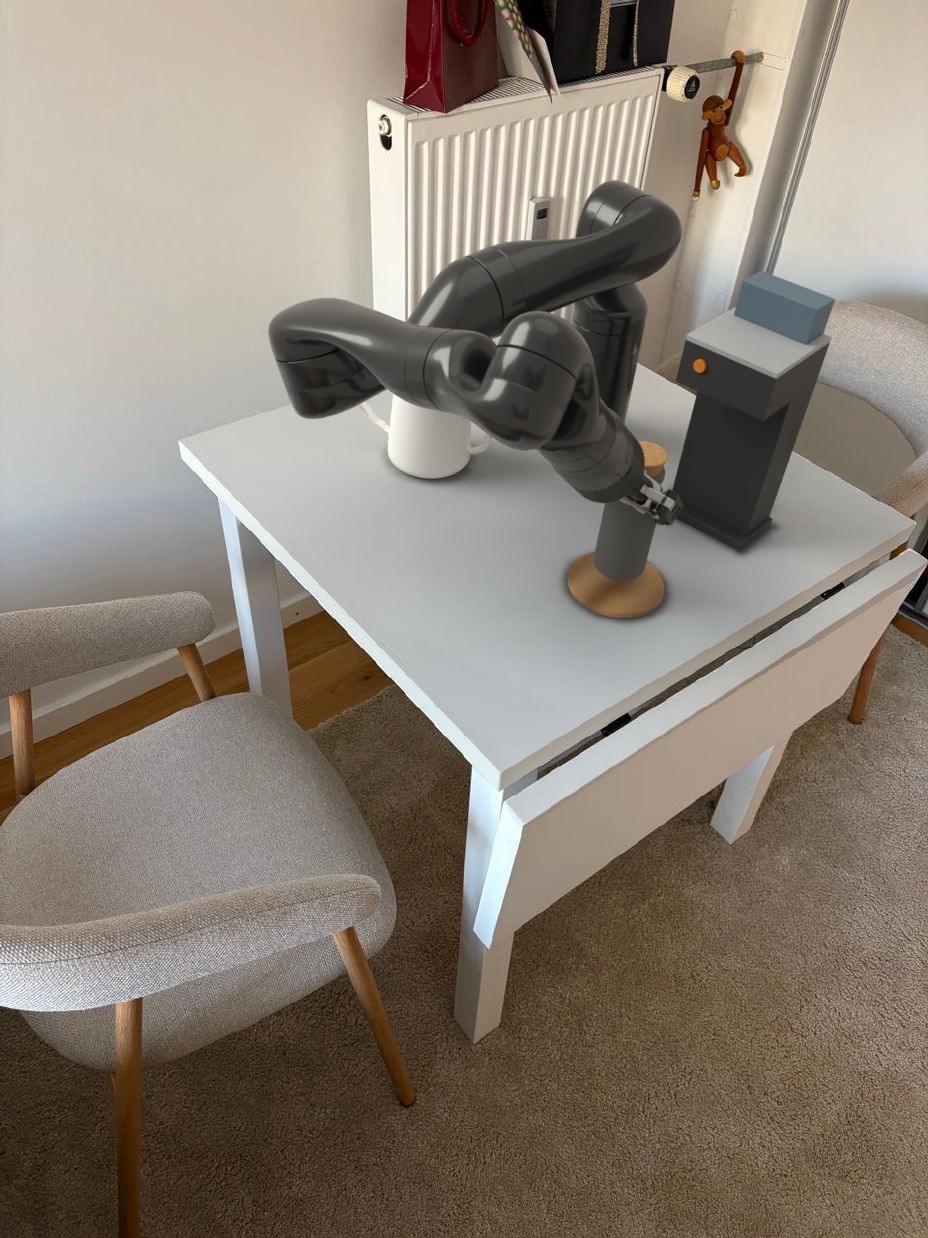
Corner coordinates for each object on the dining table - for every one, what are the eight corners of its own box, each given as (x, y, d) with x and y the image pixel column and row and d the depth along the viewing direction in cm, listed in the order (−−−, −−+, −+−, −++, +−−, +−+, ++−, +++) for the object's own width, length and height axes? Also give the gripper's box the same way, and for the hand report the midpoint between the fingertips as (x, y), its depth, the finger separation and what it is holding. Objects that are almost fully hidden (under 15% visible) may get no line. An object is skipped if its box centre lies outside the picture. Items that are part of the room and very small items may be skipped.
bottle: (642, 585, 109) (672, 473, 99) (590, 575, 110) (614, 462, 99) (646, 553, 113) (674, 442, 103) (595, 544, 114) (619, 432, 104)
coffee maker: (719, 570, 117) (791, 340, 97) (636, 524, 122) (688, 298, 102) (770, 526, 124) (848, 303, 104) (690, 484, 130) (749, 265, 109)
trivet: (550, 592, 112) (551, 587, 112) (594, 543, 119) (595, 538, 119) (638, 632, 108) (639, 627, 108) (677, 579, 115) (679, 574, 115)
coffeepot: (510, 505, 124) (526, 370, 111) (328, 457, 129) (323, 323, 116) (534, 460, 131) (552, 329, 118) (361, 416, 136) (361, 286, 123)
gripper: (514, 453, 96) (570, 503, 111) (635, 520, 89) (677, 563, 104) (555, 386, 95) (606, 445, 110) (679, 449, 89) (716, 503, 104)
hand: (640, 503), depth 107 cm, fingers closed on bottle, 6 cm apart
